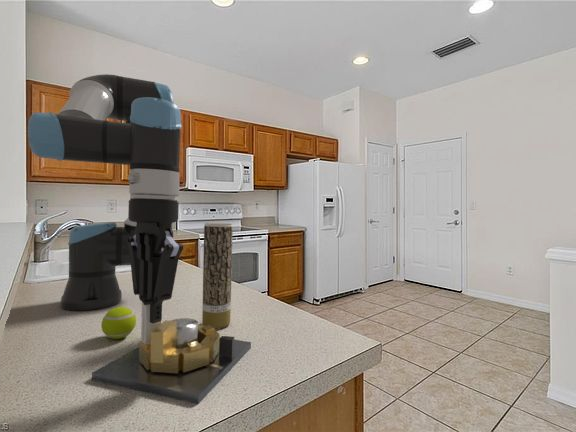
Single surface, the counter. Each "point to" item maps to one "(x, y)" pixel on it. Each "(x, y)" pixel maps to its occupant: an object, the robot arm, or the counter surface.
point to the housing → (175, 385)
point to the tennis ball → (118, 322)
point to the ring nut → (171, 360)
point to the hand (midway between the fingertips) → (150, 340)
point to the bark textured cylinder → (217, 274)
